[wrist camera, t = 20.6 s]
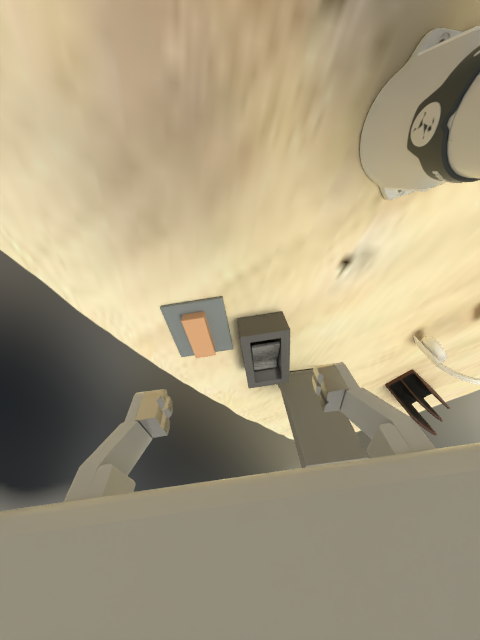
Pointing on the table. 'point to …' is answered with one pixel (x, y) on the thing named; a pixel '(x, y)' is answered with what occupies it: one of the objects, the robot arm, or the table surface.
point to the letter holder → (414, 396)
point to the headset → (440, 357)
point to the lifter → (265, 355)
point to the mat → (214, 318)
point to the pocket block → (260, 331)
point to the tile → (199, 334)
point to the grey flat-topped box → (318, 425)
